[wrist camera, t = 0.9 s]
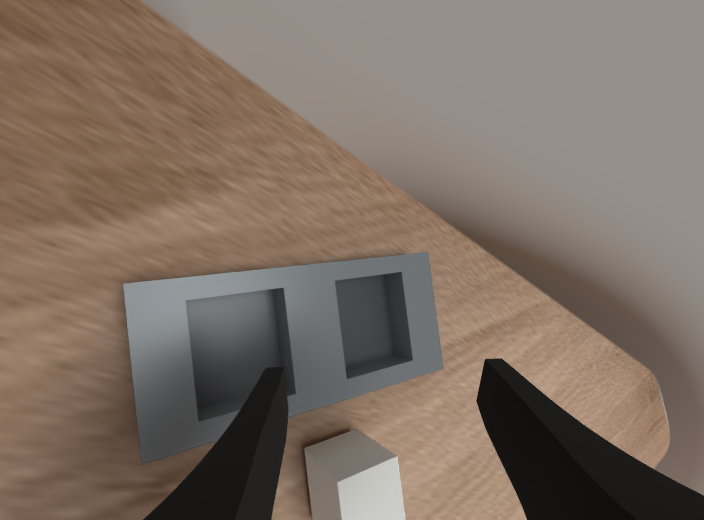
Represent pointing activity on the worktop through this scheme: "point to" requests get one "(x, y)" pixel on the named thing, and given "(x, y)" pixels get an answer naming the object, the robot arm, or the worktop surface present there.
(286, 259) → the worktop surface
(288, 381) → the socket strip
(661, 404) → the worktop surface
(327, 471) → the plug
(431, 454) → the worktop surface
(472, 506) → the worktop surface
